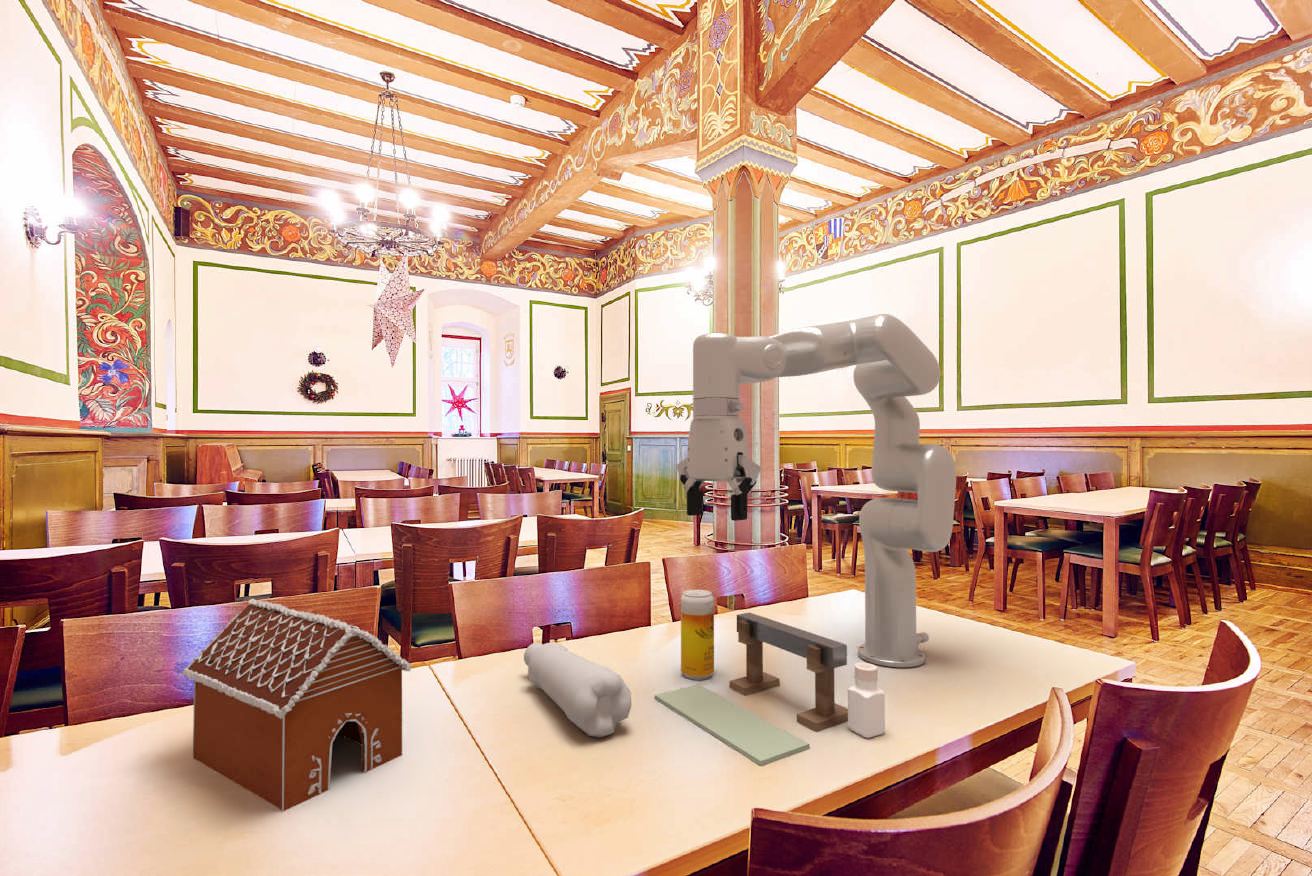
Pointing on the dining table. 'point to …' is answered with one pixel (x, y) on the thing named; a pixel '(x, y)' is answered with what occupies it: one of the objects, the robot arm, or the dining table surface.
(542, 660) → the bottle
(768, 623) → the rail
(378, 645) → the gingerbread house
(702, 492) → the robot arm
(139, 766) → the dining table surface
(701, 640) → the beer can
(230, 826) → the dining table surface
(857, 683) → the salt shaker
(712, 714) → the board
